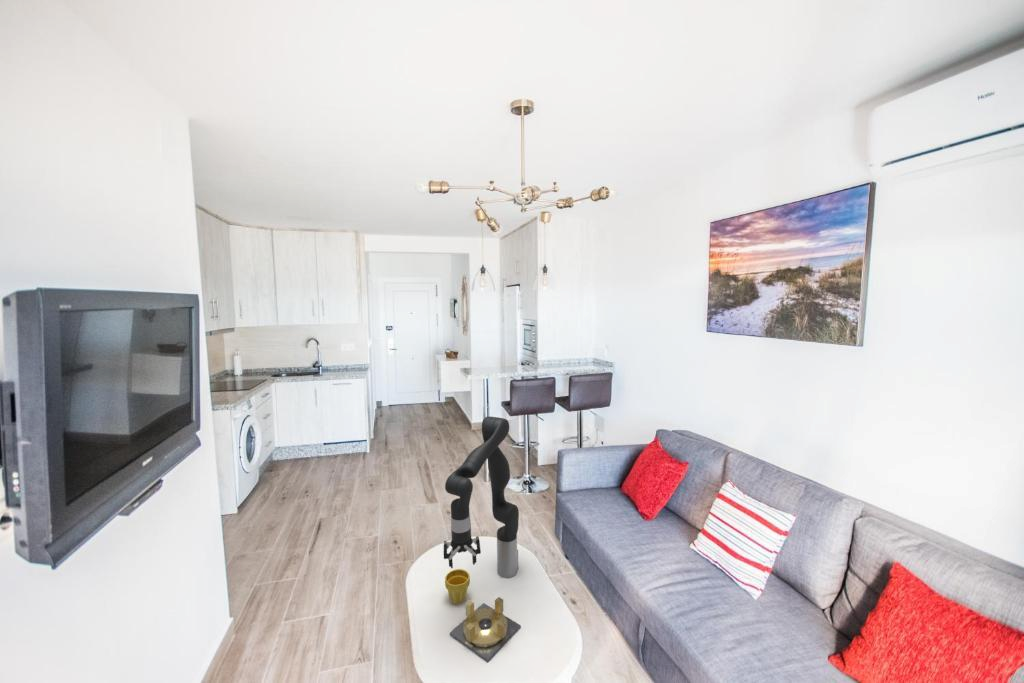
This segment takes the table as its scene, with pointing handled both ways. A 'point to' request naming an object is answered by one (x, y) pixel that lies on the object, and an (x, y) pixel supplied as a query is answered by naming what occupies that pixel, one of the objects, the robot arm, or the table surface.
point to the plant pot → (457, 585)
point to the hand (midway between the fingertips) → (462, 565)
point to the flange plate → (489, 651)
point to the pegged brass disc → (485, 624)
